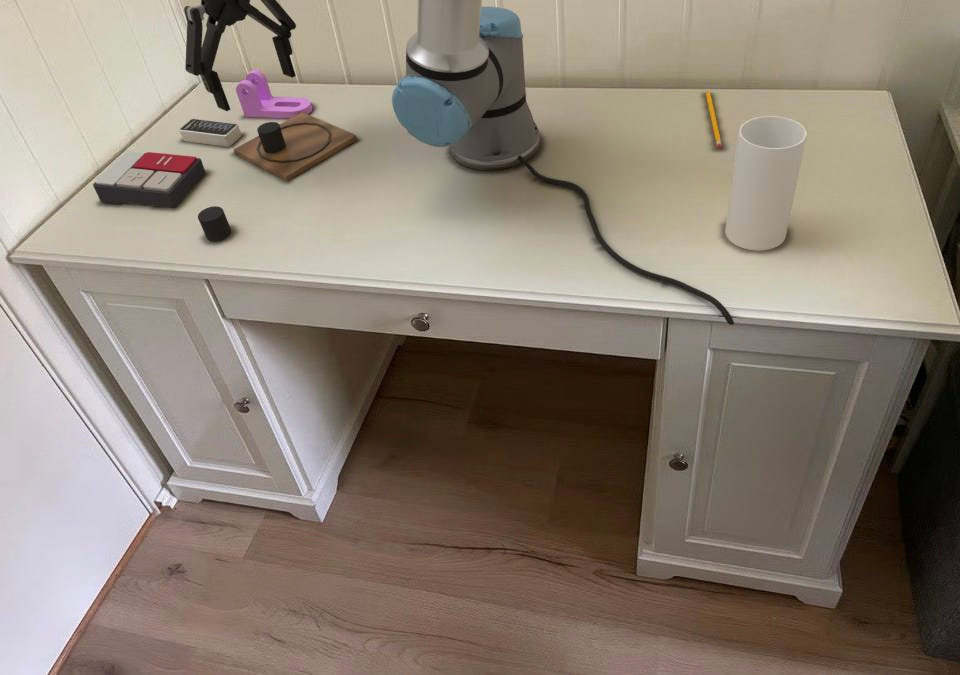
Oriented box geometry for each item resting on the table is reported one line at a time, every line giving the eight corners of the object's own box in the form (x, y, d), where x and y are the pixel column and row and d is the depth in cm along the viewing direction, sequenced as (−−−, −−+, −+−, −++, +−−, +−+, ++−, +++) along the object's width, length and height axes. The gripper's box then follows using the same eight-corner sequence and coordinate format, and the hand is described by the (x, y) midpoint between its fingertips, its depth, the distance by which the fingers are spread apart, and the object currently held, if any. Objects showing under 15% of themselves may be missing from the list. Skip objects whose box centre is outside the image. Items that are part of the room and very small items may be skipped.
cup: (749, 257, 108) (766, 155, 96) (713, 227, 113) (725, 127, 102) (798, 238, 109) (821, 136, 98) (760, 209, 115) (778, 109, 104)
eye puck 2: (290, 145, 141) (284, 125, 138) (272, 155, 139) (265, 135, 136) (277, 139, 143) (270, 119, 140) (259, 149, 141) (252, 129, 138)
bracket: (244, 116, 153) (233, 83, 148) (257, 102, 157) (246, 69, 152) (305, 118, 150) (295, 84, 145) (316, 104, 154) (307, 70, 149)
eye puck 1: (236, 232, 125) (228, 211, 122) (215, 245, 123) (206, 224, 120) (222, 223, 127) (214, 203, 124) (201, 236, 125) (192, 215, 122)
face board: (357, 140, 142) (355, 134, 141) (287, 181, 134) (285, 175, 133) (303, 116, 151) (301, 110, 150) (234, 154, 143) (232, 148, 142)
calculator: (167, 189, 129) (89, 181, 132) (176, 211, 132) (99, 202, 135) (200, 154, 137) (125, 146, 140) (207, 175, 140) (134, 167, 143)
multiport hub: (229, 147, 145) (225, 135, 143) (182, 140, 149) (177, 129, 147) (242, 134, 148) (238, 123, 146) (196, 129, 151) (191, 118, 150)
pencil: (717, 149, 128) (717, 145, 127) (705, 95, 141) (706, 91, 140) (722, 149, 128) (722, 145, 127) (710, 95, 140) (710, 91, 140)
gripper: (265, -70, 126) (302, 57, 141) (128, -15, 115) (183, 117, 129) (293, -64, 122) (327, 66, 137) (153, -6, 110) (207, 129, 125)
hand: (257, 91), depth 133 cm, fingers open, 13 cm apart
